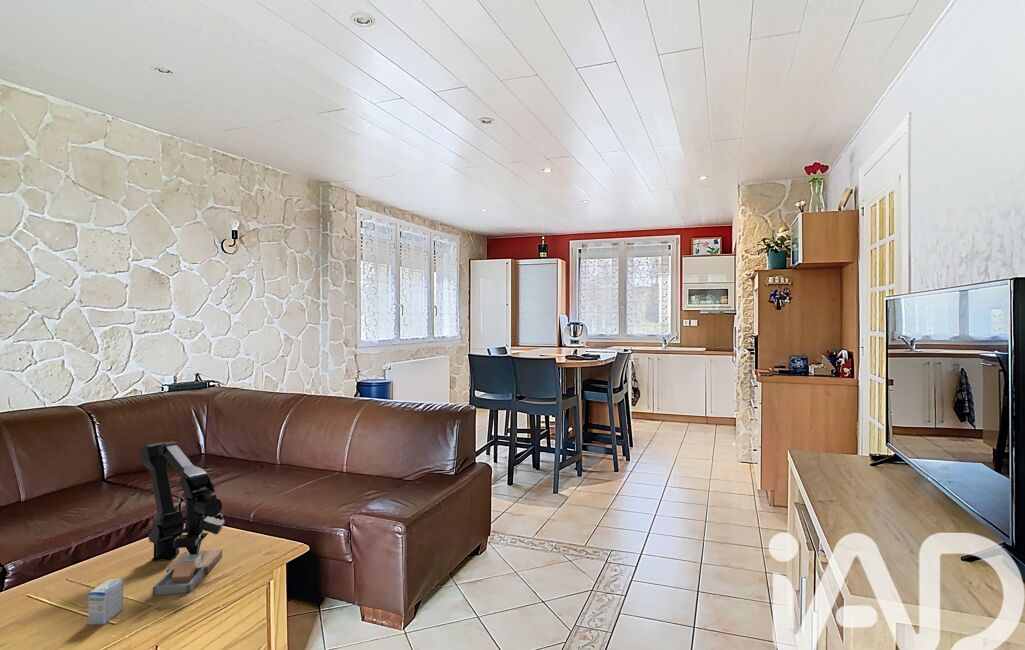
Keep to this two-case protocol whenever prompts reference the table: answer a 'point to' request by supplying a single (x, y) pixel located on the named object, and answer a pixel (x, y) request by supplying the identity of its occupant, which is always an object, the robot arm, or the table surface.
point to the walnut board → (202, 561)
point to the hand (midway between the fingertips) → (194, 558)
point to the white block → (191, 558)
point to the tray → (176, 584)
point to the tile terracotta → (184, 571)
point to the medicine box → (105, 601)
